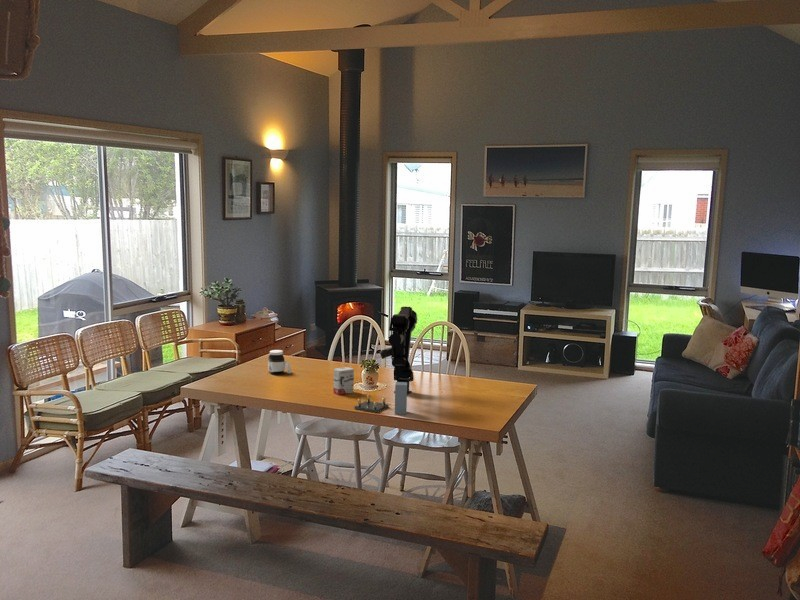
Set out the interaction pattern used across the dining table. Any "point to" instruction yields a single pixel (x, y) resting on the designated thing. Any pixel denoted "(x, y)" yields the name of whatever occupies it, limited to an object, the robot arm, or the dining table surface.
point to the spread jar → (277, 362)
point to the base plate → (371, 405)
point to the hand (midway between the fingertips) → (397, 376)
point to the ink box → (343, 380)
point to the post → (400, 398)
